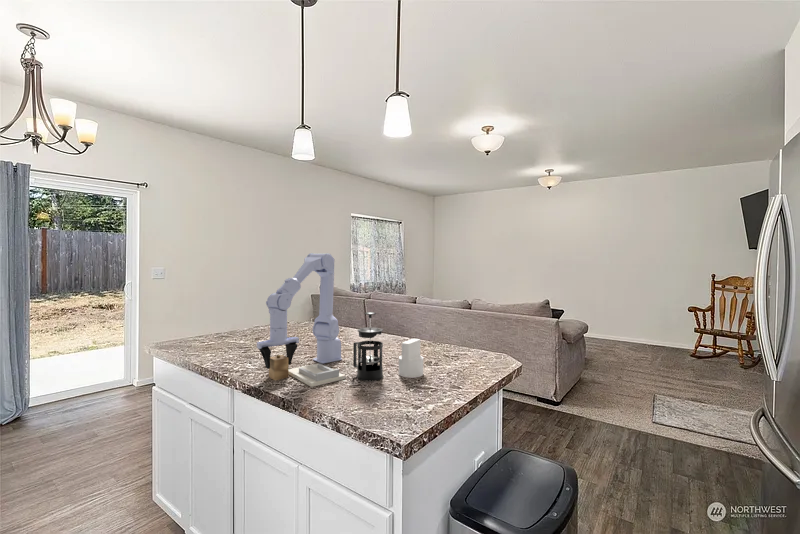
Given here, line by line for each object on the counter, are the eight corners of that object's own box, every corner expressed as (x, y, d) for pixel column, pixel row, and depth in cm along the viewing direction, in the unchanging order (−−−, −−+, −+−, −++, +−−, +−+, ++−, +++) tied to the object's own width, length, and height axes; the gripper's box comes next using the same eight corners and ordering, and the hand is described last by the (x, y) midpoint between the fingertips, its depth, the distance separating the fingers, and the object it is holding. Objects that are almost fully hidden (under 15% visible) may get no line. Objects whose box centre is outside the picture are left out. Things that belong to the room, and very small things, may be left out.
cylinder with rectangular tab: (415, 379, 130) (415, 345, 129) (393, 374, 134) (394, 341, 134) (427, 372, 137) (427, 340, 137) (406, 368, 142) (406, 337, 142)
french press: (389, 375, 134) (389, 311, 133) (377, 383, 125) (377, 315, 125) (361, 370, 138) (361, 309, 138) (347, 378, 130) (347, 312, 129)
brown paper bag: (282, 374, 134) (282, 352, 134) (288, 377, 130) (288, 355, 130) (268, 377, 131) (268, 355, 131) (274, 380, 127) (274, 358, 127)
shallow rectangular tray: (318, 366, 144) (318, 357, 144) (345, 378, 129) (345, 368, 129) (286, 373, 135) (286, 363, 135) (311, 387, 121) (311, 376, 121)
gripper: (292, 323, 138) (292, 359, 138) (253, 328, 128) (253, 367, 129) (301, 326, 133) (301, 364, 133) (261, 331, 123) (261, 371, 123)
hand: (278, 365), depth 130 cm, fingers open, 7 cm apart
